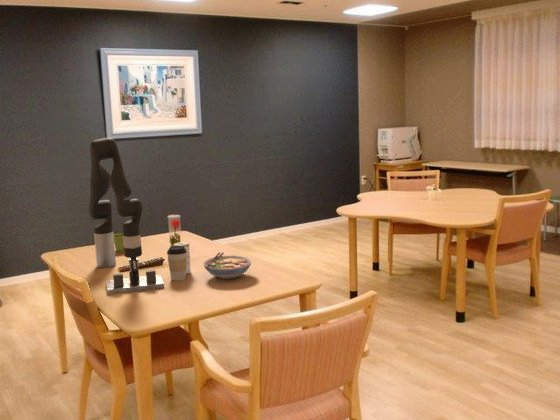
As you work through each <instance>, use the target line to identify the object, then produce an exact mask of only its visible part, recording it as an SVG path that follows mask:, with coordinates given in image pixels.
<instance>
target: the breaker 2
mask: <svg viewBox="0 0 560 420" xmlns="http://www.w3.org/2000/svg"><path fill="white" fill-rule="evenodd" d="M156 275H157V272H156V269H148V270H145V276H146V281H147V283H151V282H156Z"/></svg>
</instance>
